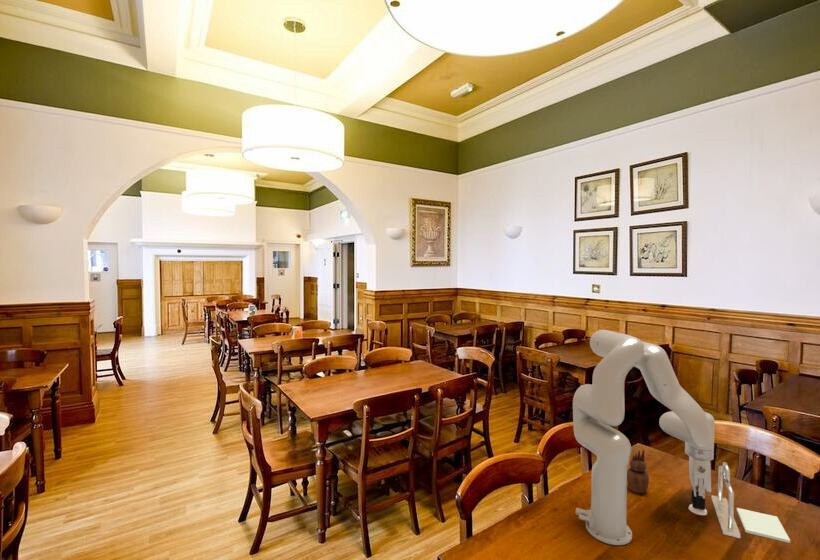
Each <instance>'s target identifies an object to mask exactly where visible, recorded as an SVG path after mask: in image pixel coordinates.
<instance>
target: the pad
mask: <svg viewBox="0 0 820 560" xmlns="http://www.w3.org/2000/svg"><path fill="white" fill-rule="evenodd" d="M736 512H737V515H738V517H739V520H740V522H741V525H742V527H743V530H744V532H745V533H747V534H751V535H754V536H759V537H764V538H768V539H772V540H774V541H775V540H776V541H780V542H784V543H787V544H791V539H790V537H789V535H788V533H787V532H786V529H785V528H784V526H783V524H782V523H781V521H780V519H779V518H778V516H776V515H771V514H768V513H767V514H766V513H762V512H758V511H753V510H749V509H745V508H739V507H736Z"/></svg>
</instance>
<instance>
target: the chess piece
mask: <svg viewBox="0 0 820 560" xmlns="http://www.w3.org/2000/svg"><path fill="white" fill-rule="evenodd" d="M697 487H698V486H697ZM697 491H698V490H696V492H697ZM688 510H689V511H690V512H692V513H693V514H695V515H699V516H707V515H708V510H707V509H706V508H705V510H701V509H696V508H693V503H691V504H689V506H688Z"/></svg>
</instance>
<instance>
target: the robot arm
mask: <svg viewBox="0 0 820 560" xmlns="http://www.w3.org/2000/svg"><path fill="white" fill-rule="evenodd" d="M589 346H590V349H591V351H592V352H593V353H594V354H595V355H597V356H599V357H602V359H601V360H600V361H599V362H598V363H597V365H596V366H595V367H594V369H593V373H592V384H590V383H586V384H582V385H580V386H579V387H577V389H576V391H575V392H574V395H573V396H572V397H573V398H572V419H573V420H572V421H573V423H572V424H573V433H574V437H575V439H576V441H577V442H578V444H580V445H581V446H582V447H583V448H586V449H587V450H588V451H590V452H591V453H592V454H594V455H595V456H596V460H595V462H594V463H593V465H592V468H591V481H590V482H591V492H590V493H591V494H590V495H591V497H590V499H591V501H590V504H591V505H590V509H587V510H585V509H583V508H580V507H576V508H575V515H576V516H578V519H579V520H582V521H585V529H586V531H587V532H588V533H589V534H590V536H592V537H593V538H595V539H596V540H598V541H599V542H603V543H604V544H608V545H613V546H623V545H627V544H629V543H630V542H632V539H633V531H632V530H631V527H629V525H628V524H627V512H628V511H627V509H628V508H627V504H628V503H627V501H628V500H627V497H628V494H627V493H628V489H627V488H628V482H627V470H628V469H629V468H628V467H629V464H630V460H631V459H630V458H631V454H632V446H631V443H630V440H629V438H628V437H626V435H625V434H624V433H622V432H621V431H619V430H618V429H616V428H614V427H618V426H620V425H621V424H622V422H624V420H625V409H626V408H625V407H626V406H625V405H626V404H625V380H626V378H627V375H628V373H629V372H630V370H632V369H633V368H636V369H638V370H640V372H641V375H642V377H643V380H644V381H645V384H646V387H647V388H648V391H649V393H650V395H651V396H652V397H653V398H654V399H655V400H656V401H658V402H660V404H662V405H663V406H665V407H667V408H668V409H669V410H670V411H667V412H664V413H663V414H662V415H661V416H660V417H659V421H658V423H659V427H660V428H661V430H662V431H663V432H665V433H666V434H668V435H670V436H672V437H674V438H676V439H678V440H681V441H683V442H684V453H685V455H687V456H688V473H689V480H690V484H691V494H690V495H691V496H690V498H691V499H690V500H691V504H693V508H696V509H701V510H705V509H706V497H705V496H706V492H707V493H711V492H712V467H711V465H712V464H711V461H713V460H714V455H715V453H714V452H715V418H714V416H713V415H712V414H711V413H709V412H707V411H704V409H703V408H702V407H701V406H700V405H699V403H697V401H696V400H695V399H694V398H693V397H692V396H691V395H690V394H689V393H688V392H687V390H685V389H684V388H683V387H682V386H681V385H680V383H679V380H678V378H677V377H678V376H677V375H676V372H675V371H674V368H673V366H672V363H671V361H670V359H669V356H668V353H667V352H666V351H665V349H664V348H662V347H661V346H660V345H657V344H655V343H651V342H647V341H642V340H641V339H640V338H638V337H636V336H633V335H630V334H626V333H621V332H616V331H612V330H608V329H599V330H597V331H595V332H594V333H592V335H591V336H590V339H589ZM697 486H698V487H697ZM696 490H698V491H697V492H696Z"/></svg>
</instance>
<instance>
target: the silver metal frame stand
mask: <svg viewBox="0 0 820 560" xmlns="http://www.w3.org/2000/svg"><path fill="white" fill-rule="evenodd" d="M717 474H718V475H717V476H718V478H717V479H718V481H717V495H712V494H711V501H712V504H713V507H714V511H715V514H716V516H717V519H718V522H719V526H720V528H721V531H722V534H723V535H725V536H729V537H733V538H737V539H741V532H740V529H739V527H738V524H737V522H736V520H735V517H734V509H735V508H734V505H735V504H734V503H735V500H734V499H735V492H734V490H733V488H732V485H731V483H730V482H731V480H730V479H731V470H730V467H729V465H728V463H727V462H725V461H723V462H722V465H719V466H718V473H717ZM723 483H724V484H725V486H726V489H727V491H728V499H727V498H726V497H724V496H723V490H724V486H723V485H724V484H723Z"/></svg>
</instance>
